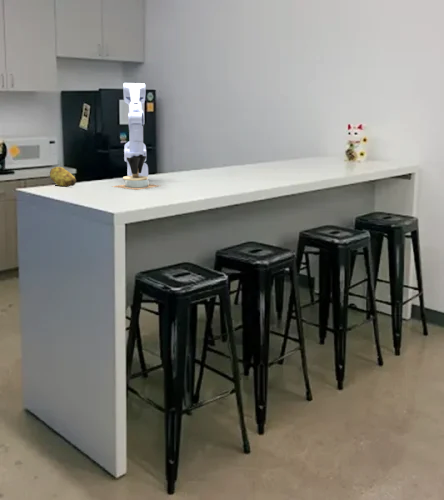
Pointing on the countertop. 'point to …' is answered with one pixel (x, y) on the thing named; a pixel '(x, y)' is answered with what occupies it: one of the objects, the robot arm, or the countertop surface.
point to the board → (136, 188)
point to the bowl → (136, 183)
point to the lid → (135, 177)
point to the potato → (62, 177)
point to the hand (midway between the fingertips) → (136, 173)
